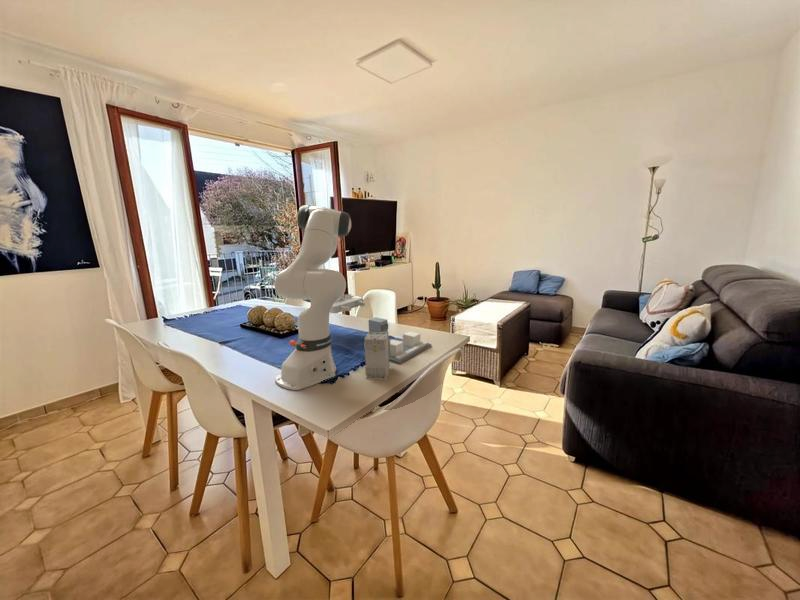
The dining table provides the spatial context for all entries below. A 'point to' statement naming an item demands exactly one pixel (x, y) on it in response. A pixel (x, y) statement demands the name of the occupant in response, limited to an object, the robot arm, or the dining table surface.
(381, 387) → the dining table surface
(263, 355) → the dining table surface
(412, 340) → the rail plate
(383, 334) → the circuit breaker
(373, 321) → the block
